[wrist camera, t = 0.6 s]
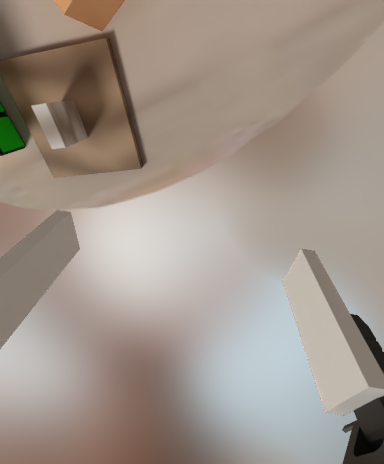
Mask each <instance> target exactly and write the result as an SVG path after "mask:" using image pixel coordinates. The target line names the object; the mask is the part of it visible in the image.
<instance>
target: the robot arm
mask: <svg viewBox="0 0 384 464" xmlns="http://www.w3.org/2000/svg"><path fill="white" fill-rule="evenodd" d="M79 249H80V248H79V244H78V240H77V235H76V231H75V227H74V223H73V219H72V215H71V212H67V211H60V210H57V211H56V212H54V213H53V214H52V215H51V216H50V217H48V218H47V219H46V220H45V221H44V222H43V223H41V224H40V225H39V226H38V227H36V228H35V229H34V230H33V231H32V232H31V233H29V234H28V235H27V236H26V237H25V238H23V239H22V240H21V241H20V242H19V243H17V244H16V245H15V246H14V247H13V248H11V249H10V250H9V251H8V252H7V253H5V254H4V255H3V256H2V257H1V258H0V349H1V347H2V346H3V345H4V344H5V342H6V341H7V340H8V339H9V337H10V336H11V335H12V334H13V332H14V331H15V330H16V329H17V327H18V326H19V325H20V324H21V322H22V321H23V320H24V319H25V317H26V316H27V315H28V313H29V312H30V311H31V310H32V308H33V307H34V306H35V305H36V303H37V302H38V301H39V299H40V298H41V297H42V296H43V295H44V293H45V292H46V291H47V289H48V288H49V287H50V286H51V285H52V283H53V282H54V280H55V279H56V278H57V277H58V276H59V274H60V273H61V272H62V271H63V269H64V268H65V267H66V266H67V264H68V263H69V262H70V261H71V259H72V258H73V257H74V256H75V254H76V253H77V252H78V251H79ZM283 284H284V287H285V290H286V293H287V296H288V299H289V302H290V305H291V308H292V311H293V315H294V318H295V320H296V324H297V327H298V330H299V333H300V336H301V340H302V343H303V346H304V349H305V352H306V355H307V358H308V361H309V364H310V367H311V371H312V373H313V377H314V380H315V383H316V386H317V389H318V392H319V395H320V399H321V402H322V405H323V408H324V411H325V413H331V414H337V415H343V416H344V415H347V414H349V413H351V412H352V411H354V413H355V415H356V418H357V421H354V422H352V423H350V424H348V425H346V426H344V428H343V431H344V432H345V433H346V432H348V431H350V430H352V432H351V435H350V439H349V443H348V446H347V450H346V453H345V457H344V461H343V464H384V352H382V348H381V346H380V345H379V343H378V342H377V341H376V338H375V336H374V335H373V333H372V332H371V330H370V328H369V326H368V325H367V324H366V323H365V322H364V321H363V320H362V319H361V318H360V317H359V316H358V315H353V314H350V313H349V311H348V310H347V308H346V306H345V304H344V302H343V301H342V299H341V297H340V295H339V293H338V292H337V290H336V288H335V286H334V285H333V283H332V281H331V279H330V277H329V276H328V274H327V272H326V270H325V268H324V267H323V265H322V263H321V261H320V259H319V258H318V256H317V254H316V252H315V251H312V250H306V249H301V250H300V252H299V254H298V255H297V257H296V259H295V260H294V262H293V264H292V266H291V267H290V269H289V271H288V273H287V274H286V276H285V278H284V280H283Z"/></svg>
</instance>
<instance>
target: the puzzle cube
mask: <svg viewBox="0 0 384 464" xmlns="http://www.w3.org/2000/svg"><path fill="white" fill-rule="evenodd" d="M23 148H25V145H24V143H23V141H22V140H21V138H20V136H19V134H18V133H17V131H16V129H15V127H14V126H13V124H12V122H11V120H10V119H9V117H8V116H7V115H5V110H4V108H3V107H2V105H1V103H0V156H2V155H5V154H8V153H11V152H14V151H17V150H20V149H23Z"/></svg>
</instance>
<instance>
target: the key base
mask: <svg viewBox="0 0 384 464" xmlns="http://www.w3.org/2000/svg"><path fill="white" fill-rule="evenodd" d="M0 74H1V76H2V78H3V80H4V82H5V84H6V86H7V88H8V90H9V92H10V94H11V96H12V97H13V99H14V101H15V103H16V105H17V107H18V109H19V111H20V113H21V115H22V117H23V119H24V121H25V123H26V125H27V127H28V129H29V130H30V132H31V134H32V136H33V138H34V140H35V142H36V144H37V146H38V148H39V150H40V152H41V154H42V156H43V158H44V160H45V162H46V164H47V165H48V167H49V169H50V171H51V173H52V175H53V177H54V178H57V177H67V176H76V175H85V174H95V173H104V172H113V171H123V170H132V169H141V168H142V167H143V165H142V161H141V157H140V154H139V150H138V146H137V142H136V139H135V135H134V131H133V127H132V123H131V120H130V116H129V112H128V108H127V105H126V101H125V97H124V93H123V89H122V86H121V82H120V78H119V74H118V71H117V67H116V63H115V59H114V55H113V52H112V48H111V44H110V40H109V39H107V38H104V39H99V40H94V41H90V42H85V43H80V44H76V45H71V46H66V47H61V48H57V49H52V50H47V51H43V52H38V53H33V54H28V55H24V56H19V57H14V58H10V59H5V60H0Z"/></svg>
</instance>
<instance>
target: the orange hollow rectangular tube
mask: <svg viewBox="0 0 384 464" xmlns="http://www.w3.org/2000/svg"><path fill="white" fill-rule="evenodd" d="M53 1H54V2H55V3H56V5H57V6H58V7H59V9H60V10H61V11H62V12H63V14H64V15H67V16H69V17H71V18H73V19H76V20H78V21H80V22H82V23H85V24H87V25H89V26H91V27H93V28H96V29H98V30H100V31H103V29H104V28H105V26H106V25H107V24H108V22H109V21H110V20H111V18H112V17H113V15H114V14H115V13H116V11H117V10H118V9H119V7H120V6H121V4H122V3H123V2H124V0H53Z"/></svg>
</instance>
